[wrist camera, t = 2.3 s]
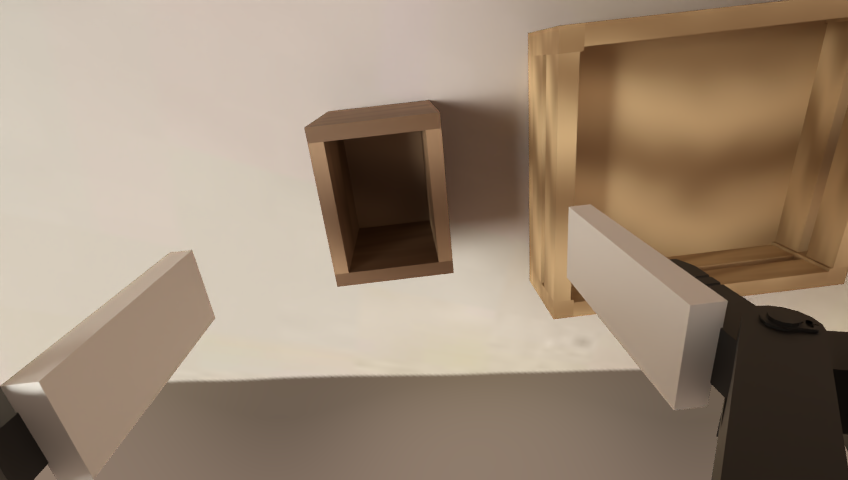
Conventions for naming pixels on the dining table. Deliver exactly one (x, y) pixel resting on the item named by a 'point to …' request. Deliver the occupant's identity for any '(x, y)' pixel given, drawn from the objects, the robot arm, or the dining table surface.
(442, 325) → the dining table surface
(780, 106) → the oak crate
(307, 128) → the walnut crate
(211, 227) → the dining table surface
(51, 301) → the dining table surface
